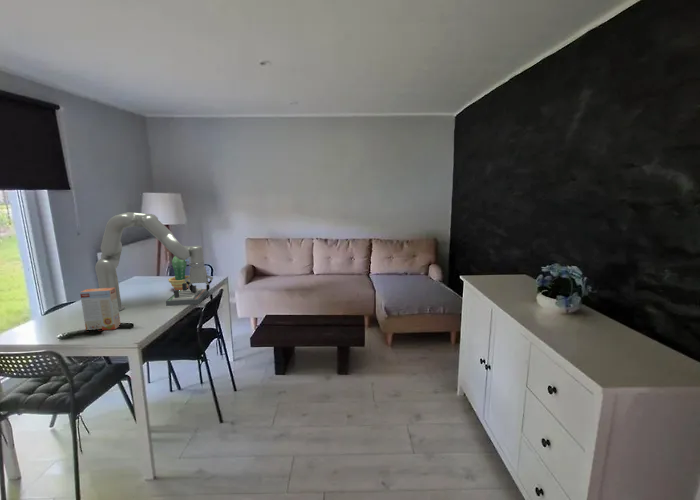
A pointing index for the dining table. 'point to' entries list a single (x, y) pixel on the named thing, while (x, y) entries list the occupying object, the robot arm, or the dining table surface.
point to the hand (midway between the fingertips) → (200, 290)
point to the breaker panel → (186, 296)
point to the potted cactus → (179, 273)
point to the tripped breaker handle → (194, 289)
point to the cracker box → (100, 308)
